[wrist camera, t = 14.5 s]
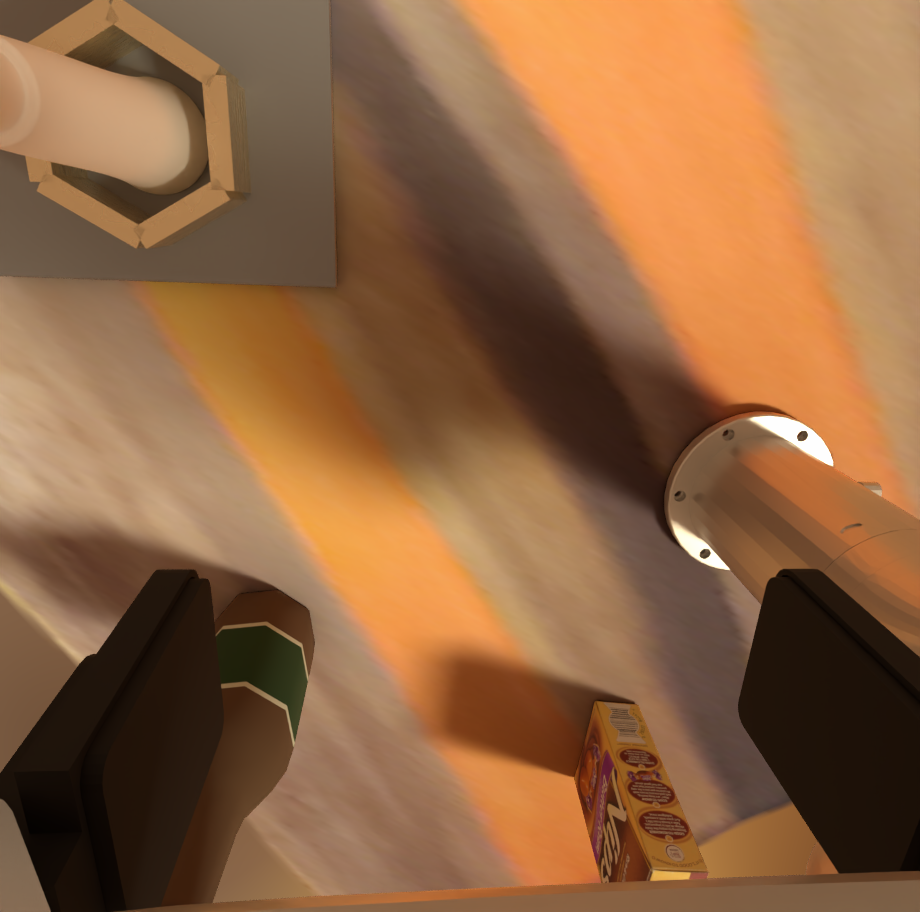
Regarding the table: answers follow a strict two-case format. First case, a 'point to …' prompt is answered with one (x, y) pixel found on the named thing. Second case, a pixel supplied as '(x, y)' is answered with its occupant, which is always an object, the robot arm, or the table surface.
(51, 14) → the slate board
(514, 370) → the table surface
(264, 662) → the beer bottle
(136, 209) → the wooden hex collar
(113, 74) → the cosmetic bottle
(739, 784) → the table surface
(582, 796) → the candy box
